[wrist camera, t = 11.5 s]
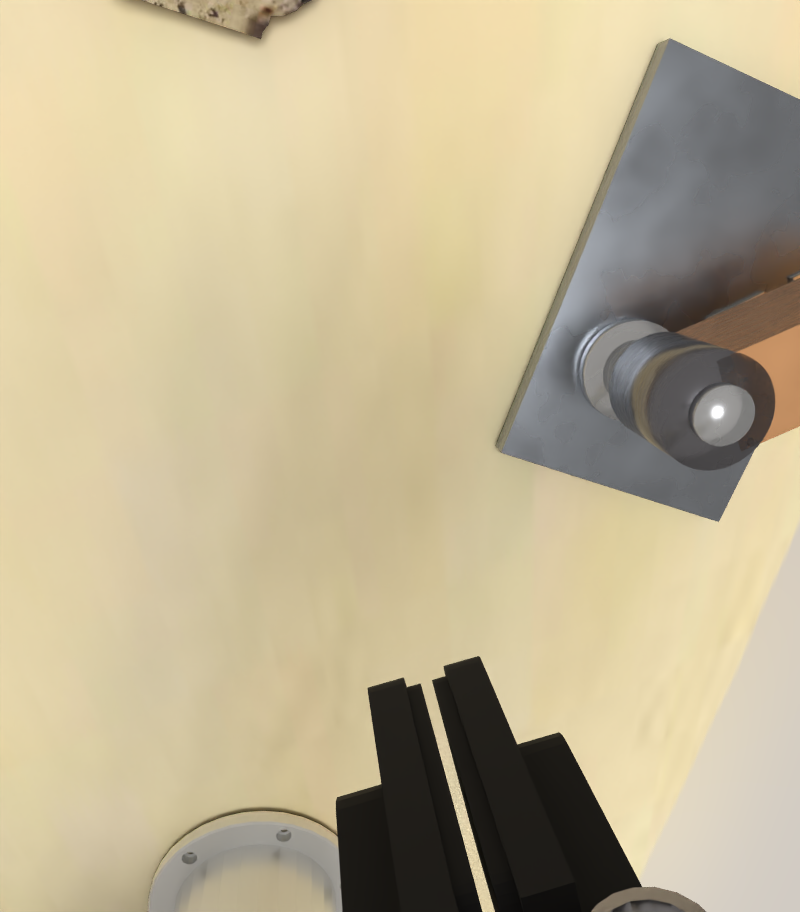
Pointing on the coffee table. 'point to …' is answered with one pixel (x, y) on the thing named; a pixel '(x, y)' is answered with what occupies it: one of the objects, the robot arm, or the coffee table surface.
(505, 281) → the coffee table surface
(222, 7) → the stone
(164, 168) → the coffee table surface
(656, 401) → the orange boxy piece
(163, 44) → the coffee table surface
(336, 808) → the robot arm
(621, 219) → the post base
